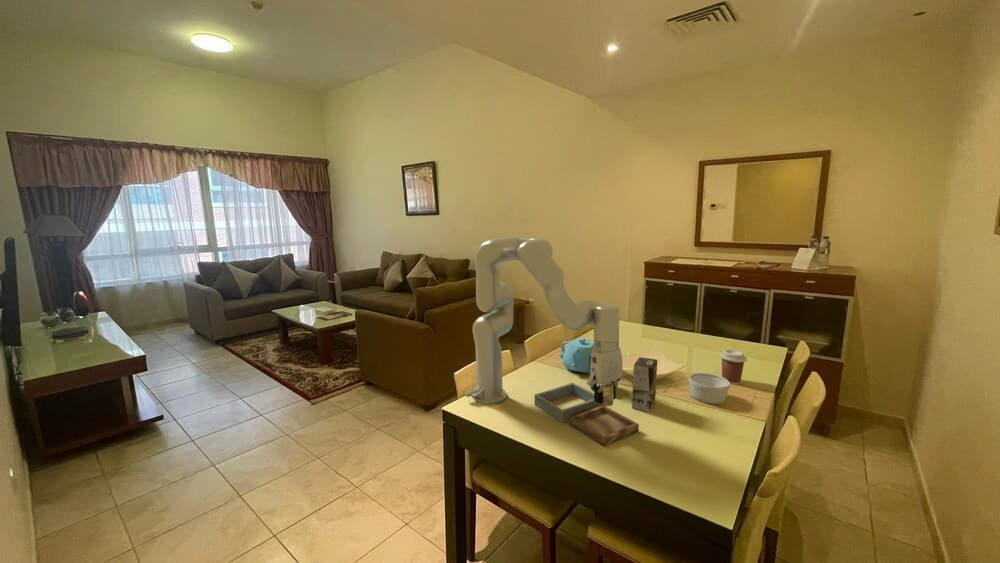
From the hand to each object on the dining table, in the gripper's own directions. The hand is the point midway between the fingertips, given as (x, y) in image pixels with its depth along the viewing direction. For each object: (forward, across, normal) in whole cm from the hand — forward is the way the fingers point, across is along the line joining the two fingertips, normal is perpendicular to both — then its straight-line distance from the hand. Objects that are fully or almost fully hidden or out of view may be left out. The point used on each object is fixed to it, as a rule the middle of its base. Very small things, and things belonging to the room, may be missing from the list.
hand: (605, 399), depth 127 cm
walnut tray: (+10, 0, 0) cm, 10 cm away
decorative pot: (+10, +28, +40) cm, 50 cm away
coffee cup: (+10, +68, -3) cm, 69 cm away
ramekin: (+10, +47, -6) cm, 48 cm away
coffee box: (+10, +23, +3) cm, 25 cm away
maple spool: (+1, 0, 0) cm, 1 cm away
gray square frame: (+10, 0, +17) cm, 20 cm away
